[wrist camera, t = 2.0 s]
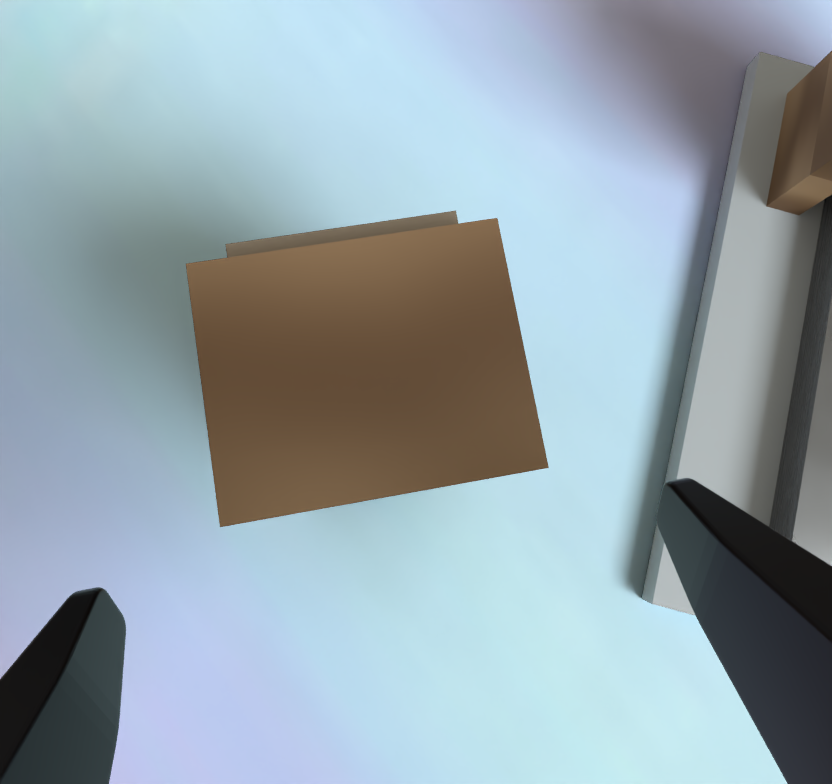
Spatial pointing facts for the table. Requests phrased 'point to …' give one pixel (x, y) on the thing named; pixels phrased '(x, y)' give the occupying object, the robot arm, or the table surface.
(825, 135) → the fitted finger
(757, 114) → the base board
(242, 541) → the table surface
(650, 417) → the table surface
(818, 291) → the rail
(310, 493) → the notched wooden block
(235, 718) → the table surface
